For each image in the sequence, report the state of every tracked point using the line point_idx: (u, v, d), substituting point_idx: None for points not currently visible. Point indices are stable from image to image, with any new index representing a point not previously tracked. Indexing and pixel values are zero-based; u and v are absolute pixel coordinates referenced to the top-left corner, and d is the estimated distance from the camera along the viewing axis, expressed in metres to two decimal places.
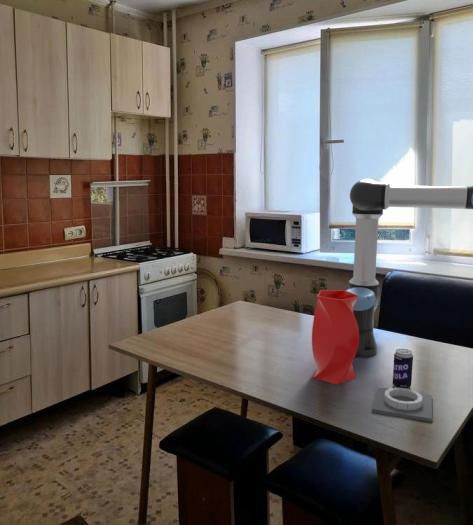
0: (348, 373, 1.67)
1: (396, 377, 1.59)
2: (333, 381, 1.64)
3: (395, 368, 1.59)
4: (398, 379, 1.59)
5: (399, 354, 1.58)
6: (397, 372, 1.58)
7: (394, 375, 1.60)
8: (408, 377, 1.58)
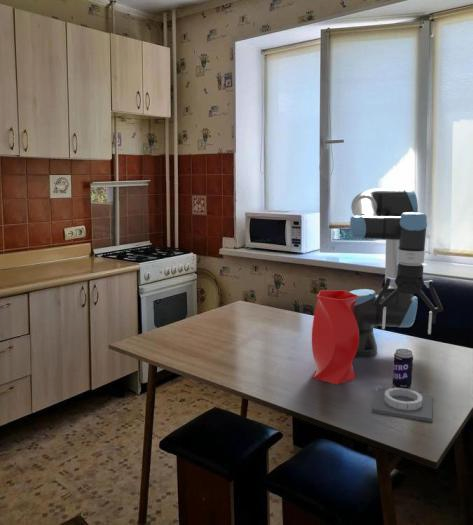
0: (348, 373, 1.67)
1: (396, 377, 1.59)
2: (333, 381, 1.64)
3: (395, 368, 1.59)
4: (398, 379, 1.59)
5: (399, 354, 1.58)
6: (397, 372, 1.58)
7: (394, 375, 1.60)
8: (408, 377, 1.58)
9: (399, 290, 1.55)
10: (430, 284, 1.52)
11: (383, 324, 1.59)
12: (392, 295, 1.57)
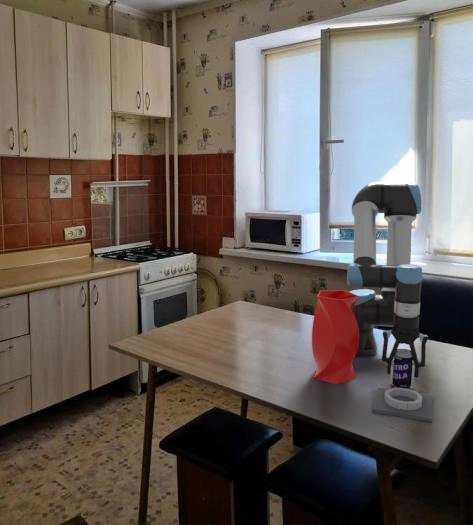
0: (348, 373, 1.67)
1: (396, 377, 1.59)
2: (333, 381, 1.64)
3: (395, 368, 1.59)
4: (398, 379, 1.59)
5: (399, 354, 1.58)
6: (397, 372, 1.58)
7: (394, 375, 1.60)
8: (408, 377, 1.58)
9: (398, 342, 1.58)
10: (424, 339, 1.55)
11: (391, 380, 1.61)
12: (394, 349, 1.59)
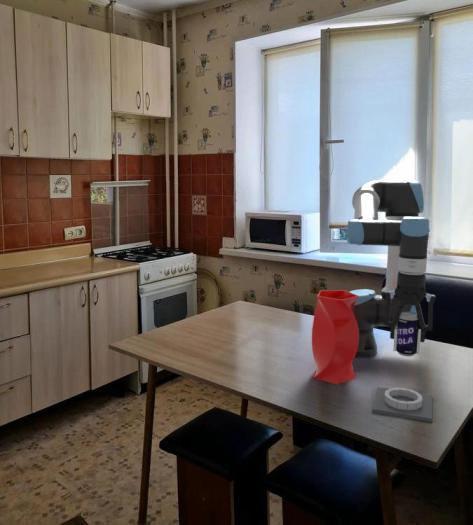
0: (348, 373, 1.67)
1: (400, 342, 1.44)
2: (333, 381, 1.64)
3: (399, 332, 1.44)
4: (402, 345, 1.43)
5: (404, 316, 1.43)
6: (401, 336, 1.43)
7: (398, 340, 1.45)
8: (413, 342, 1.43)
9: (402, 303, 1.43)
10: (432, 299, 1.40)
11: (395, 346, 1.46)
12: (398, 310, 1.44)
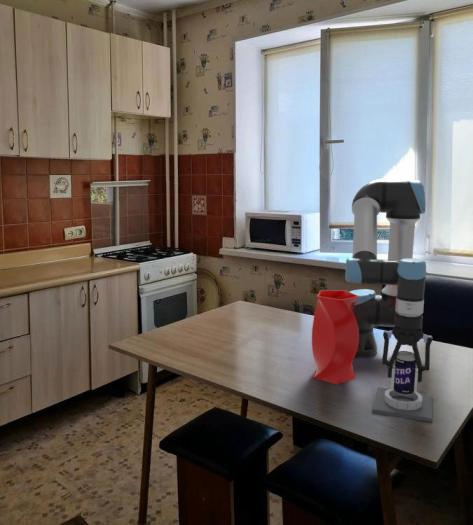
0: (348, 373, 1.67)
1: (397, 382, 1.46)
2: (333, 381, 1.64)
3: (397, 372, 1.46)
4: (400, 384, 1.45)
5: (401, 357, 1.45)
6: (399, 376, 1.45)
7: (395, 380, 1.47)
8: (411, 381, 1.45)
9: (400, 343, 1.45)
10: (428, 340, 1.42)
11: (392, 385, 1.48)
12: (395, 350, 1.46)
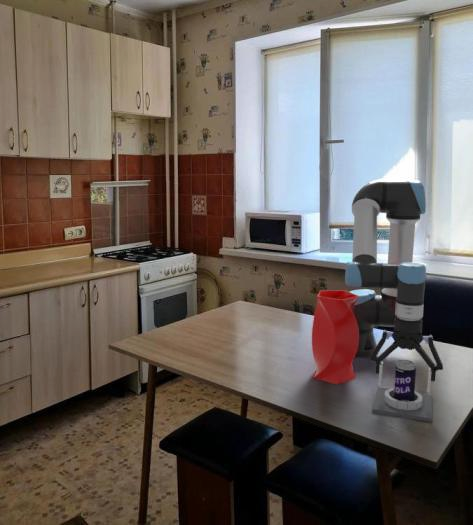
0: (348, 373, 1.67)
1: (398, 391, 1.46)
2: (333, 381, 1.64)
3: (396, 381, 1.47)
4: (400, 394, 1.46)
5: (401, 366, 1.45)
6: (399, 385, 1.46)
7: (395, 389, 1.47)
8: (411, 391, 1.45)
9: (396, 345, 1.45)
10: (429, 340, 1.42)
11: (380, 380, 1.49)
12: (389, 350, 1.47)
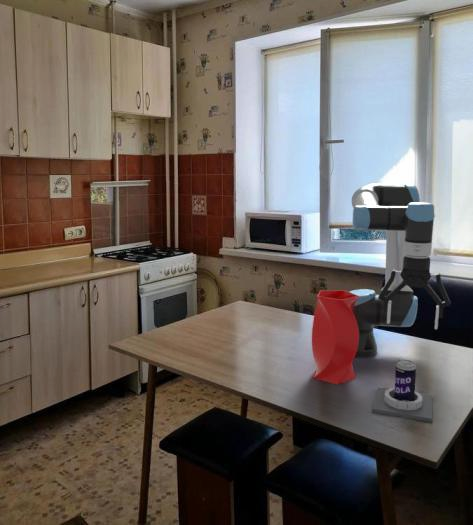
0: (348, 373, 1.67)
1: (398, 391, 1.46)
2: (333, 381, 1.64)
3: (397, 381, 1.47)
4: (400, 394, 1.46)
5: (401, 366, 1.45)
6: (399, 385, 1.46)
7: (396, 389, 1.47)
8: (411, 391, 1.45)
9: (405, 283, 1.49)
10: (437, 277, 1.46)
11: (388, 318, 1.53)
12: (397, 288, 1.51)
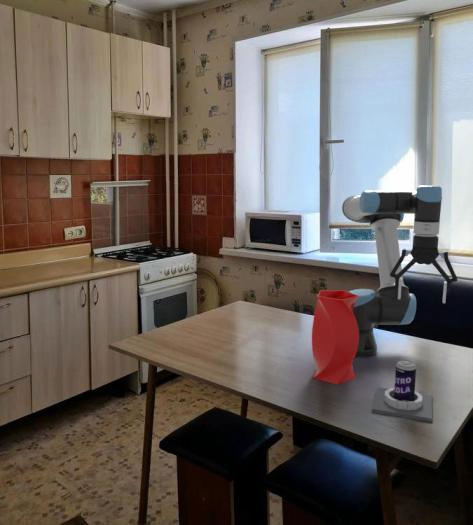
0: (348, 373, 1.67)
1: (398, 391, 1.46)
2: (333, 381, 1.64)
3: (397, 381, 1.47)
4: (400, 394, 1.46)
5: (401, 366, 1.45)
6: (399, 385, 1.46)
7: (396, 389, 1.47)
8: (411, 391, 1.45)
9: (415, 261, 1.60)
10: (445, 254, 1.57)
11: (399, 294, 1.64)
12: (408, 266, 1.62)
